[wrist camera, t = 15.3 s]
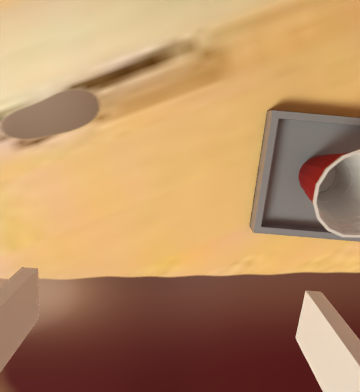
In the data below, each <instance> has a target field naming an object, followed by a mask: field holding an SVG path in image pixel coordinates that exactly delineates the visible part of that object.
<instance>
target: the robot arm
mask: <svg viewBox="0 0 360 392" xmlns="http://www.w3.org/2000/svg"><path fill="white" fill-rule="evenodd" d="M39 318H40V310H39V285H38V269H37V268H24V267H22V268H21V269H20V270H19V271H18V272H17V273H15V274H14V275H13V276H12V277H11V278H10V279H9V280H8V281H7V282H6V283H5V284H3V286H1V288H0V372H1V371H2V369H3V368H4V366H5V365H6V364H7V362H8V361H9V359H10V358H11V357H12V355H13V354H14V353H15V351H16V350H17V348H18V347H19V346H20V344H21V343H22V341H23V340H24V339H25V337H26V336H27V334H28V333H29V332H30V330H31V329H32V328H33V326H34V325H35V323H36V322H37V321H38V319H39ZM296 340H297V342H298V344H299V346H300V348H301V350H302V352H303V354H304V355H305V358H306V359H307V361H308V363H309V365H310V367H311V369H312V371H313V373H314V375H315V377H316V379H317V381H318V383H319V385H320V387H321V389H322V391H323V392H360V340H359V339H358V337H357V336H356V335H355V334H354V332H353V331H352V330H351V329H350V328H349V326H348V325H347V324H346V322H345V321H344V320H343V319H342V318H341V316H340V315H339V314H338V312H337V311H336V310H335V309H334V307H333V306H332V305H331V303H330V302H329V301H328V300H327V298H326V297H325V296H324V295H323V293H322V292H316V291H306V292H305V296H304V302H303V306H302V310H301V315H300V320H299V325H298V329H297V334H296Z"/></svg>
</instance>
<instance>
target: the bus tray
mask: <svg viewBox="0 0 360 392" xmlns="http://www.w3.org/2000/svg"><path fill="white" fill-rule="evenodd" d="M359 149H360V118H355V117H343V116H332V115H321V114H309V113H298V112H287V111H276V110H270V111H267V115H266V121H265V128H264V135H263V141H262V148H261V154H260V161H259V167H258V174H257V180H256V187H255V194H254V200H253V207H252V213H251V220H250V228H251V229H252V231H253V233H264V234H276V235H288V236H300V237H312V238H324V239H335V240H347V241H359V242H360V238H355V237H341V236H338V235H336V234H334V233H332V232H329V231H327V230H326V228H325V227H324V226H323V225H322V224H321V223H320V222H319V220H318V219H317V217H316V213H315V209H314V205H313V203H312V202H311V200H310V199H309V198H308V196H307V195H306V194H305V192H304V190H303V189H302V187H301V186H300V182H299V179H298V177H299V171H300V169H301V167H302V165H303V164H304V163H305V162H306V161H307V160H309V159H310V158H313V157H316V156H322V155H326V154H342V153H350V152H353V151H356V150H359Z"/></svg>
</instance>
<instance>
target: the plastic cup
mask: <svg viewBox="0 0 360 392" xmlns="http://www.w3.org/2000/svg"><path fill="white" fill-rule="evenodd" d="M298 179H299V182H300V186H301V187H302V189H303V190H304V192H305V194H306V195H307V196H308V198H309V199H310V200H311V202H312V203H313V205H314V209H315V213H316V217H317V219H318V220H319V222H320V223H321V224H322V225H323V226H324V227H325V228H326V230H327V231H329V232H332V233H334V234H336V235H338V236H341V237H355V238H360V149H359V150H356V151H353V152H350V153H342V154H326V155H322V156H316V157H313V158H310V159H309V160H307V161H306V162H305V163H304V164H303V165H302V167H301V169H300V171H299V177H298Z"/></svg>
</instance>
